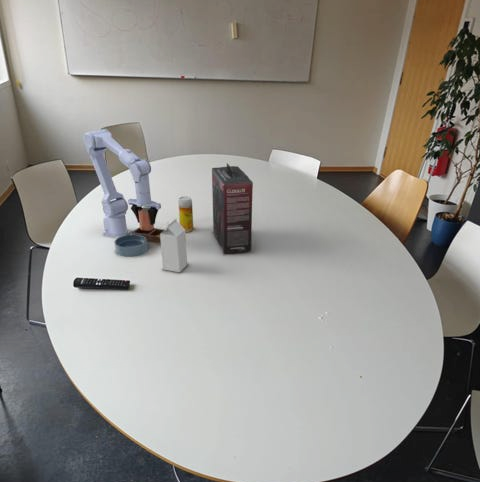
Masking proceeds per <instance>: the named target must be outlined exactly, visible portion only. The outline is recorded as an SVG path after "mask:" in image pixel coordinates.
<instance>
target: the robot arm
mask: <svg viewBox="0 0 480 482" xmlns="http://www.w3.org/2000/svg"><path fill="white" fill-rule="evenodd" d="M82 141H83V145H84V147H85V149H86V151H87V154H88V155H89V157H90V160H91V162H92V165H93V167H94V170H95V173H96V175H97V178H98V181H99V183H100V186H101V188H102V189H101V190H102V192H103V194H104V195H103V198H102V199H101V201H100V202H101V205H102V211H103V213H104V216H103V227H104V233H103V235H106V236H112V237H116V238H119V237H121V236H125V235H129V234H130V233H132V230H130V229H128V226H127V219H126V214H127V211H129V206H130V210H131V211H132V213H133V214H134V216H135V218H136V220H137V223H138V224H140V223H139V215H138V209H140V208H143V207H149V208H151V209H149V210H148V213H149V216H150V222H151V225H154V226H155V225H156V220H157V216H158V213H159V210H161V209H162V204H161V203H160V202H156V201H154V200H152V197H151V196H152V195H151V186H150V185H151V184H150V176H149V175H150V173H152V165H151V163H150V161H148V160H147V159H146V158H140V157H139V156H137V155H136V154H135V153H134V152H133V151H132V150H131V149H130V148H125V149H124V148H123V147H122V146H121V144H119V142H117V141H116V139H114V138H113V135H112V132H110V130H108V129H107V128H102V129H98V130H94V131H86V132H85V133H84V134H83V138H82ZM107 150H109V151H110V152H112V153H113V154H115V155H116V156H117V157H118V161H119V162H120V163H122V164H123V165H124V166H126V167H127V168H128V169H129V172H130V174H131V176H132V180H133V181H134V187H135V189H134V190H135V197H136V198H129V199H128V200H126V199H125V197H124V194H123V193H121V192H119V191H117V189H116V188H117V187H116V186H115V183H114V180H113V178H112V174H111V171H110V170H109V167H108V164H107V161H106V158H105V156H104V154H105V152H106V151H107Z"/></svg>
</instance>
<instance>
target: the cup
mask: <svg viewBox="0 0 480 482" xmlns="http://www.w3.org/2000/svg"><path fill="white" fill-rule="evenodd" d="M149 209H151V208H150V207H144V206H142V208H140V209H138V215H139V223H138V224H139V227H140V229H141V230H145V231H147V230H152V229H153V228H155V224H154V225H151V222H150V216H149V213H148V210H149Z"/></svg>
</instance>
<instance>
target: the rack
mask: <svg viewBox="0 0 480 482" xmlns="http://www.w3.org/2000/svg"><path fill="white" fill-rule="evenodd" d="M164 230H165V229H163V228H156V227H154V228H153V229H152V230H147V231H145V230H141V229H140V226H139V227H138V228H136V229H135V230H133V231H131V235H141V236H144V237H145V238H146V239H147V243H152V244H158V245H161V240H160V234H161V233H162V232H163V231H164Z"/></svg>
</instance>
